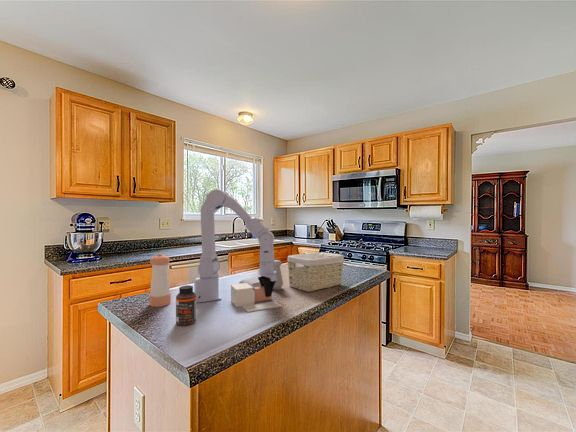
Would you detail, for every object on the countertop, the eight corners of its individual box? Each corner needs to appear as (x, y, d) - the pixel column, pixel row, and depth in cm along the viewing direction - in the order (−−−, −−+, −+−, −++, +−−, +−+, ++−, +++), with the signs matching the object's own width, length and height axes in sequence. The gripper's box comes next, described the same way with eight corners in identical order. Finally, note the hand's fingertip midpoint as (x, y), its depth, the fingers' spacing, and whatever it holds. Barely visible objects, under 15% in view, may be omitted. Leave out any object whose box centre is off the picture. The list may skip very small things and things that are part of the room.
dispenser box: (236, 307, 100) (236, 289, 100) (230, 300, 108) (230, 284, 108) (254, 304, 104) (254, 287, 103) (248, 298, 111) (248, 282, 111)
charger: (249, 284, 134) (268, 290, 123) (233, 287, 128) (251, 294, 117) (249, 274, 134) (268, 280, 123) (233, 277, 128) (251, 283, 117)
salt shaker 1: (164, 299, 110) (163, 251, 110) (174, 302, 106) (174, 253, 106) (145, 304, 104) (145, 254, 104) (156, 308, 100) (155, 255, 100)
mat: (247, 312, 95) (247, 311, 95) (242, 307, 100) (242, 306, 100) (281, 306, 101) (281, 305, 101) (275, 302, 106) (275, 301, 106)
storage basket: (321, 279, 144) (321, 250, 144) (345, 285, 131) (345, 254, 131) (285, 286, 129) (285, 255, 129) (309, 294, 116) (309, 259, 116)
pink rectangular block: (244, 303, 105) (244, 290, 105) (243, 301, 107) (242, 288, 107) (271, 299, 109) (271, 286, 109) (269, 297, 112) (269, 285, 112)
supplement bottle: (176, 327, 82) (175, 290, 82) (175, 320, 88) (175, 285, 88) (197, 324, 85) (196, 288, 85) (195, 317, 90) (195, 283, 90)
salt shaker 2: (273, 291, 121) (273, 261, 121) (268, 288, 126) (268, 259, 126) (285, 289, 124) (285, 260, 124) (279, 286, 129) (279, 258, 129)
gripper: (283, 263, 105) (283, 298, 105) (269, 258, 118) (269, 289, 118) (266, 265, 102) (266, 301, 102) (253, 259, 115) (254, 291, 115)
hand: (267, 295), depth 110 cm, fingers closed on pink rectangular block, 2 cm apart
